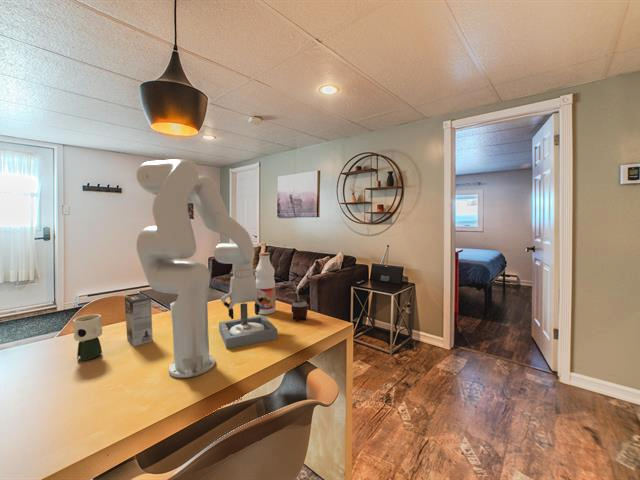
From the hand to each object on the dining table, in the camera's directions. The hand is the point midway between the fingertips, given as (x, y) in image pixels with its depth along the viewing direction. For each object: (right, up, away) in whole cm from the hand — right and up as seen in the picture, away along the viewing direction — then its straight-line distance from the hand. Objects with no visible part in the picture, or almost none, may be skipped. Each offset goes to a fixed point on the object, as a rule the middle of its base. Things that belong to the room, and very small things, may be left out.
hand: (244, 316), depth 115 cm
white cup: (-27, -6, +5) cm, 28 cm away
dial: (+2, -5, -4) cm, 7 cm away
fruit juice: (+4, -4, +23) cm, 24 cm away
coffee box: (-36, -7, -9) cm, 37 cm away
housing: (+2, -6, -4) cm, 8 cm away
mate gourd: (+21, -5, +13) cm, 25 cm away
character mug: (-44, -8, -22) cm, 50 cm away
